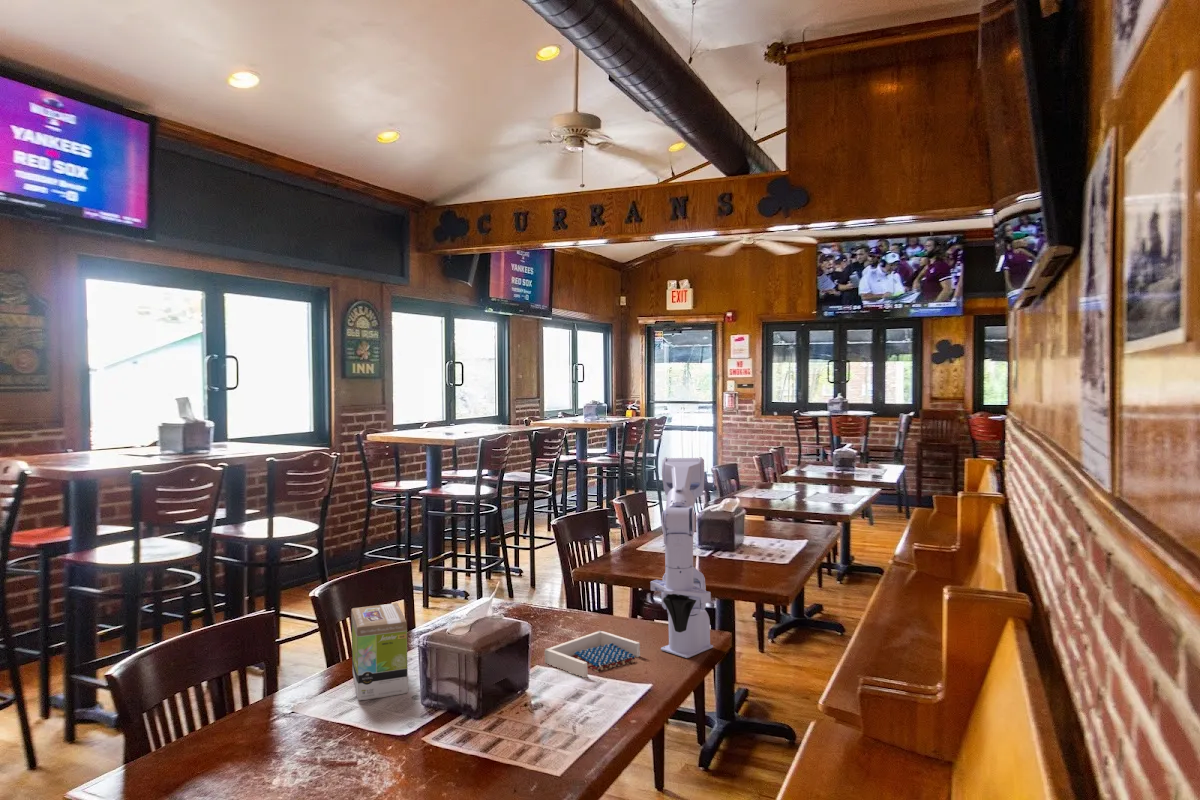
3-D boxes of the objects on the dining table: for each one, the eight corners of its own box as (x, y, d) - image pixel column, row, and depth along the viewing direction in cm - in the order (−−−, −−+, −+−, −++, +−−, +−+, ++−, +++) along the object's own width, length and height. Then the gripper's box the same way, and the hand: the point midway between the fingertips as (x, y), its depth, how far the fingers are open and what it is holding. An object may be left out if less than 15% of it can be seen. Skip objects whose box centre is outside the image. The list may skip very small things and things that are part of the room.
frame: (600, 643, 182) (600, 630, 182) (640, 656, 173) (639, 642, 173) (545, 663, 170) (544, 649, 170) (584, 678, 161) (583, 663, 161)
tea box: (410, 693, 155) (407, 620, 155) (357, 702, 152) (354, 627, 151) (400, 668, 169) (397, 600, 169) (351, 675, 166) (349, 606, 165)
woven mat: (571, 660, 173) (570, 651, 173) (611, 650, 178) (611, 641, 178) (595, 675, 164) (595, 665, 164) (637, 664, 169) (636, 655, 169)
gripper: (640, 563, 163) (641, 627, 163) (694, 575, 152) (696, 643, 153) (662, 557, 168) (663, 619, 168) (716, 568, 157) (717, 634, 158)
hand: (680, 630), depth 161 cm, fingers closed
